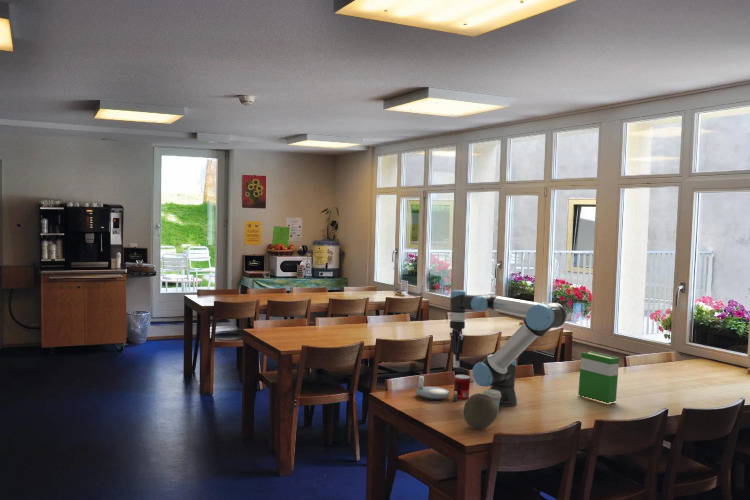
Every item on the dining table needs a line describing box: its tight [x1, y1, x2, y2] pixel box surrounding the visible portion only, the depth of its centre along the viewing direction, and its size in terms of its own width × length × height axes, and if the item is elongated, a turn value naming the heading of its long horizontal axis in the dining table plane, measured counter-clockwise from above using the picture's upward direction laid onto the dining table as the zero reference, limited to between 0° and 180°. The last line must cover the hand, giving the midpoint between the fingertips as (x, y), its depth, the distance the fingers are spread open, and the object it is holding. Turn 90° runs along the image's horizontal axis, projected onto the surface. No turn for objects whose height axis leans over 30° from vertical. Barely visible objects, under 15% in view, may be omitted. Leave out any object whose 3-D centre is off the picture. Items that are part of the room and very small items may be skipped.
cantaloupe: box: [462, 393, 498, 431], centre depth 280 cm, size 14×14×15 cm
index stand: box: [422, 390, 458, 403], centre depth 323 cm, size 17×10×5 cm, turn 46°
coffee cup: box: [482, 388, 501, 419], centre depth 298 cm, size 8×8×12 cm
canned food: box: [453, 374, 471, 401], centre depth 328 cm, size 8×8×11 cm
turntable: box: [415, 375, 452, 400], centre depth 325 cm, size 18×17×8 cm
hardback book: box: [577, 350, 620, 403], centre depth 340 cm, size 18×7×24 cm, turn 37°
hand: (456, 366), depth 328 cm, fingers closed
